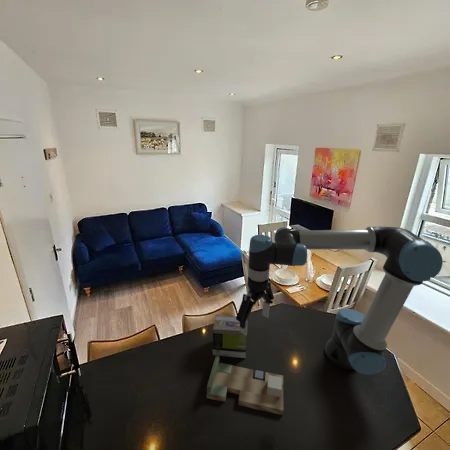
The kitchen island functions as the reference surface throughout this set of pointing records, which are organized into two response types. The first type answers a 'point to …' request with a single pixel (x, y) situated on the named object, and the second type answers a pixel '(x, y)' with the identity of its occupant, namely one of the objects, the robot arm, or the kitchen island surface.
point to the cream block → (274, 386)
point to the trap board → (242, 387)
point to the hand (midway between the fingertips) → (255, 324)
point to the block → (259, 375)
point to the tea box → (228, 337)
